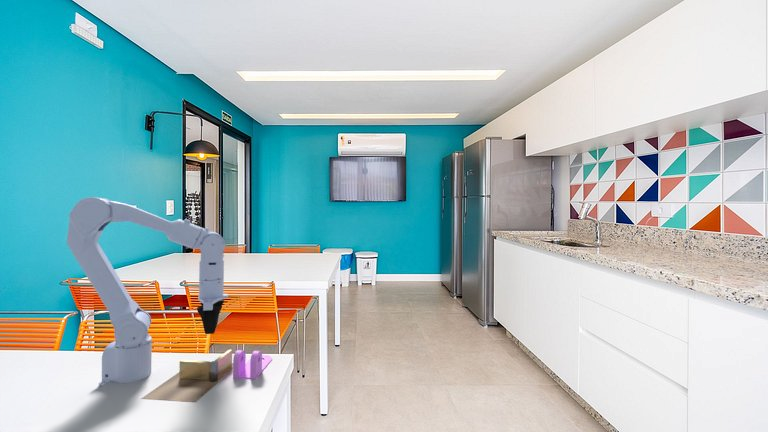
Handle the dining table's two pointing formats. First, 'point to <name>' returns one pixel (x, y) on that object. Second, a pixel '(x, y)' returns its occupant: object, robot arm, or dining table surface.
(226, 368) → the fixed leaf
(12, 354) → the dining table surface
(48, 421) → the dining table surface
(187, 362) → the swing leaf
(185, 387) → the walnut board
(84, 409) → the dining table surface
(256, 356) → the bracket
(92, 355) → the dining table surface
